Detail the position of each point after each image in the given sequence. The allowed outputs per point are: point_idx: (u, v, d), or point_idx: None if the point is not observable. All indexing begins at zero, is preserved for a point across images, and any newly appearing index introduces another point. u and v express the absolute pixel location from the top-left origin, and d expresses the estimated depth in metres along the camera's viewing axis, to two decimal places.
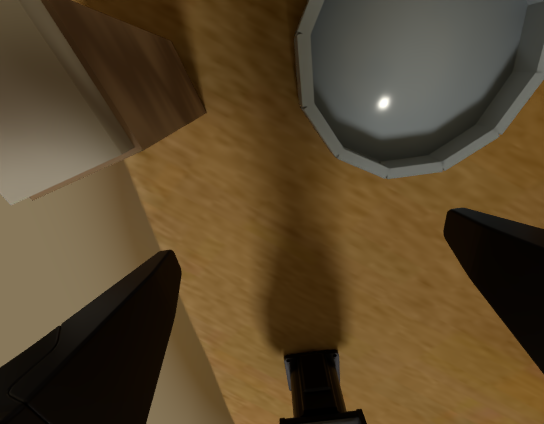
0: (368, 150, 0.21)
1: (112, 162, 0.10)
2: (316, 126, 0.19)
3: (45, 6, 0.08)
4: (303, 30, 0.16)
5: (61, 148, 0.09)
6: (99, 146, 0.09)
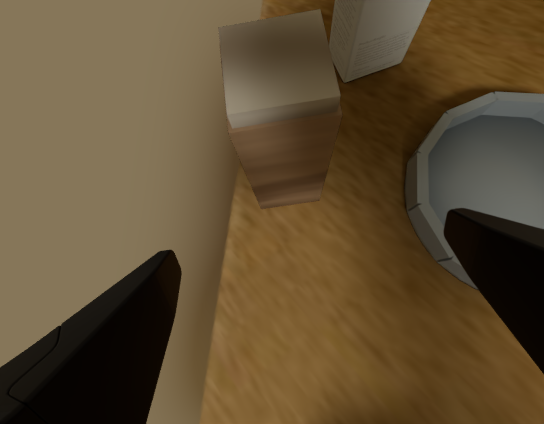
0: None
1: (313, 118, 0.12)
2: (429, 222, 0.19)
3: None
4: (422, 151, 0.21)
5: (296, 84, 0.11)
6: (326, 87, 0.11)
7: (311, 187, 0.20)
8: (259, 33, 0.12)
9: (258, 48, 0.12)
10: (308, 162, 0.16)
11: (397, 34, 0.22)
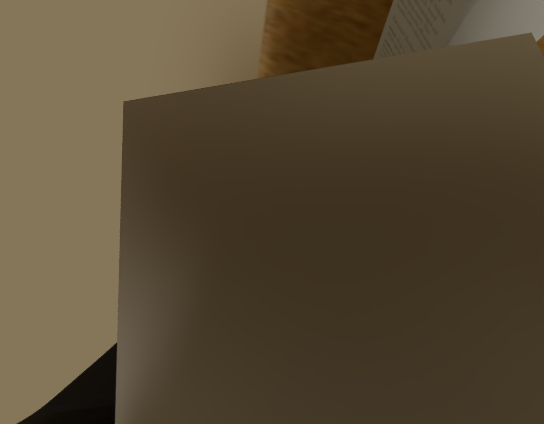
0: None
1: None
2: None
3: None
4: None
5: None
6: None
7: None
8: (284, 136, 0.03)
9: (282, 208, 0.03)
10: None
11: None
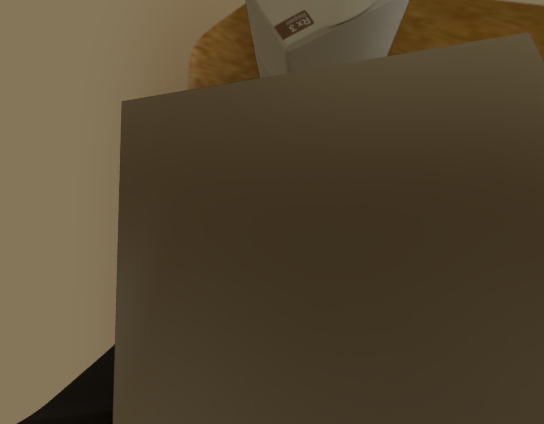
0: None
1: None
2: None
3: None
4: None
5: None
6: None
7: None
8: (282, 135, 0.03)
9: (280, 208, 0.03)
10: None
11: None
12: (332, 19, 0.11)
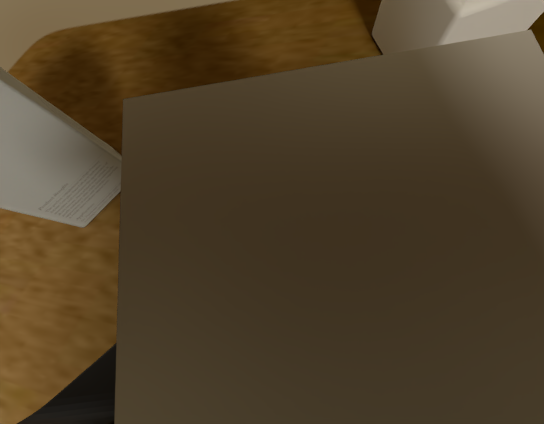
0: None
1: None
2: None
3: None
4: None
5: None
6: None
7: None
8: (283, 133, 0.03)
9: (282, 205, 0.03)
10: None
11: (84, 172, 0.17)
12: None
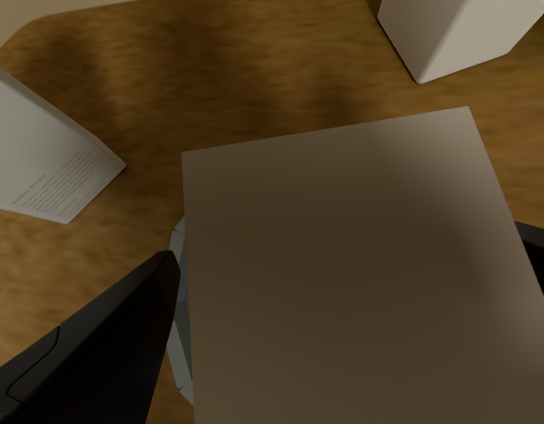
0: None
1: None
2: None
3: None
4: None
5: (435, 386, 0.03)
6: None
7: None
8: (297, 179, 0.04)
9: (297, 230, 0.04)
10: None
11: (64, 163, 0.16)
12: None
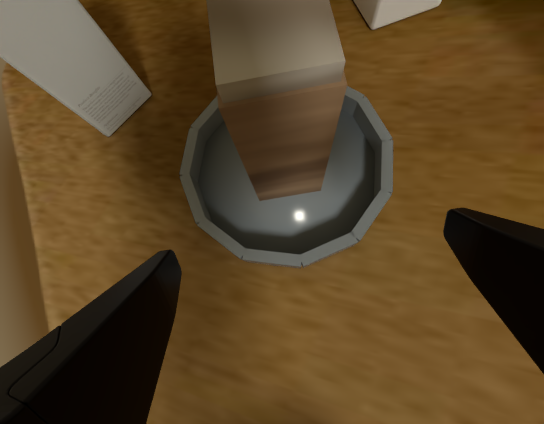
0: (283, 249, 0.21)
1: (314, 89, 0.10)
2: (212, 235, 0.20)
3: None
4: (183, 172, 0.21)
5: (294, 49, 0.10)
6: (328, 52, 0.10)
7: (312, 175, 0.18)
8: None
9: (250, 11, 0.10)
10: (309, 144, 0.14)
11: (111, 80, 0.22)
12: None
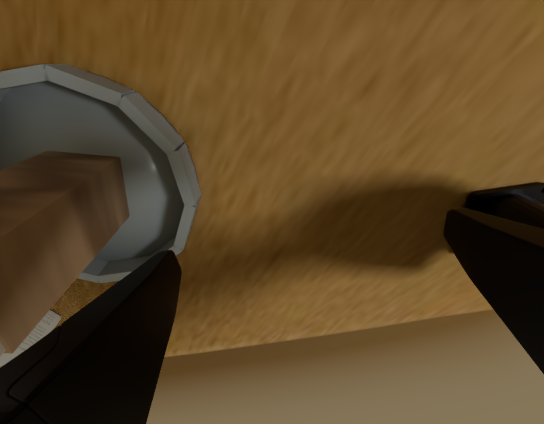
0: (181, 206, 0.22)
1: None
2: None
3: None
4: (96, 279, 0.23)
5: None
6: None
7: (96, 187, 0.17)
8: None
9: None
10: (52, 229, 0.14)
11: None
12: None
